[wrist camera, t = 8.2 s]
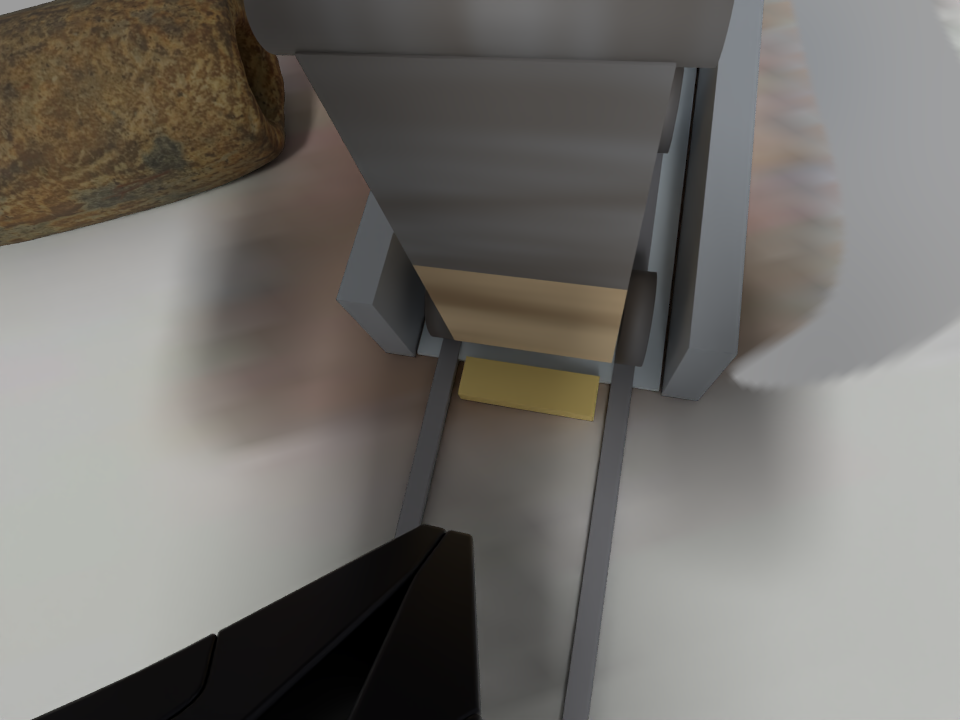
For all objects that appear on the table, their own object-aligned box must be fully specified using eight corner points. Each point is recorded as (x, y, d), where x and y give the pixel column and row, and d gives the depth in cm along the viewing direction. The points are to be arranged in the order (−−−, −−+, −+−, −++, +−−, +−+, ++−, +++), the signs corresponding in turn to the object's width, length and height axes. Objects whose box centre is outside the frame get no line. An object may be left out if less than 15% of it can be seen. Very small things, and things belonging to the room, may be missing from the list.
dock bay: (660, 786, 13) (712, 923, 8) (296, 675, 15) (170, 734, 10) (736, -5, 20) (785, -173, 15) (485, -6, 22) (461, -154, 17)
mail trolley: (636, 382, 16) (784, 2, 5) (438, 352, 17) (200, -2, 6) (672, 104, 19) (816, -526, 8) (501, 97, 20) (416, -452, 9)
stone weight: (-39, 318, 21) (-296, 222, 15) (-29, 179, 24) (-246, 46, 17) (321, 190, 20) (210, 32, 14) (292, 60, 23) (187, -123, 17)
